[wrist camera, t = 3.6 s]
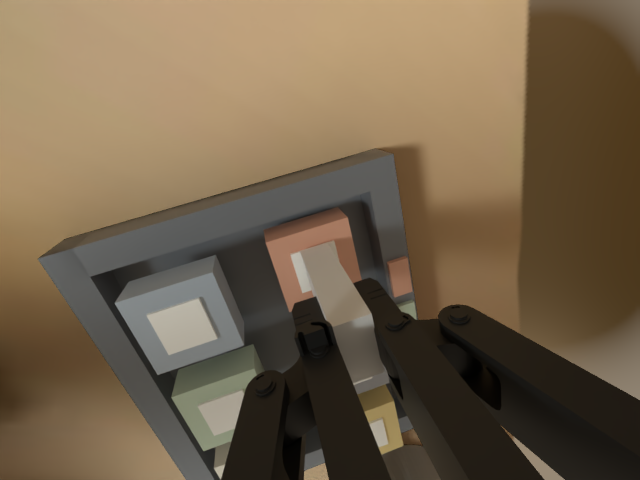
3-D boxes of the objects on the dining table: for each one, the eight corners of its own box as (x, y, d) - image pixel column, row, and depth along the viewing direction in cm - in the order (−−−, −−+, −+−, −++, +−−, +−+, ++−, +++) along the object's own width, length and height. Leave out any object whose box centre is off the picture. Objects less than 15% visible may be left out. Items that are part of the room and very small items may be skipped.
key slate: (166, 348, 18) (156, 377, 16) (128, 281, 16) (113, 305, 14) (244, 322, 19) (244, 347, 17) (215, 254, 17) (212, 273, 15)
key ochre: (334, 442, 24) (342, 472, 22) (320, 399, 22) (327, 428, 20) (391, 420, 24) (404, 447, 22) (381, 377, 22) (395, 402, 20)
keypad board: (209, 472, 26) (205, 513, 24) (64, 239, 18) (34, 261, 15) (417, 394, 28) (435, 424, 26) (375, 148, 20) (395, 154, 17)
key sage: (207, 421, 21) (203, 453, 19) (178, 369, 19) (170, 399, 17) (275, 396, 21) (278, 426, 19) (253, 344, 19) (254, 370, 17)
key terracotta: (285, 294, 20) (289, 313, 18) (263, 229, 19) (265, 243, 17) (352, 271, 21) (364, 288, 19) (337, 206, 19) (348, 217, 17)
